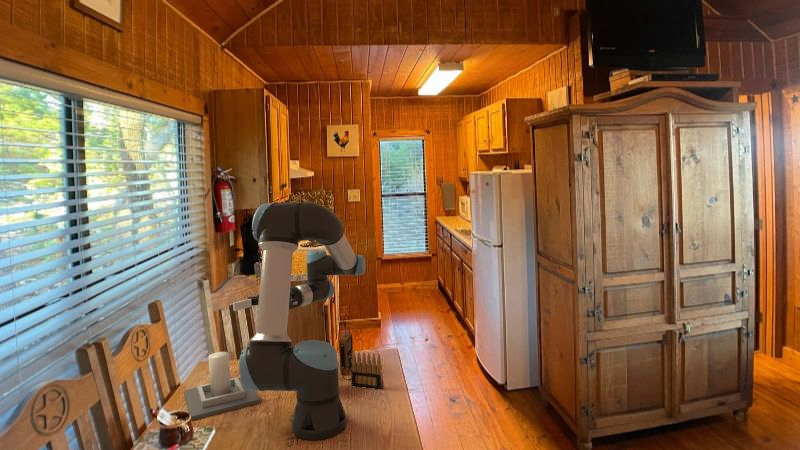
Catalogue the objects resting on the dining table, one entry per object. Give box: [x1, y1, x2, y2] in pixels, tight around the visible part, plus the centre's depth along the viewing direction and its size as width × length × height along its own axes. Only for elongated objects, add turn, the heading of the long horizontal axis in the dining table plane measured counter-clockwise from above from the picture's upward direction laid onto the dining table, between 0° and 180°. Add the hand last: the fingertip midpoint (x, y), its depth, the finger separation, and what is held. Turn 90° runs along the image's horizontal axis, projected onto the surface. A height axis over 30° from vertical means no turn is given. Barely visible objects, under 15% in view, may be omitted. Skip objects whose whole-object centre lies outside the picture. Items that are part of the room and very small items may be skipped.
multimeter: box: [338, 314, 354, 381], centre depth 167 cm, size 15×10×20 cm
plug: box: [208, 351, 231, 397], centre depth 150 cm, size 6×6×13 cm
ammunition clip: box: [351, 350, 384, 390], centre depth 155 cm, size 11×2×12 cm, turn 72°
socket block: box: [183, 377, 261, 421], centre depth 150 cm, size 20×20×3 cm
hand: (244, 310), depth 156 cm, fingers open, 13 cm apart
